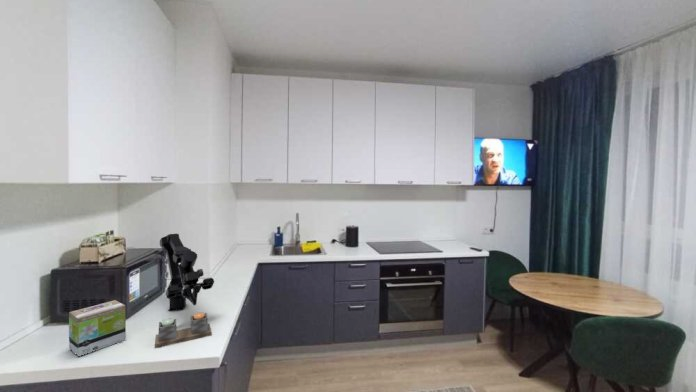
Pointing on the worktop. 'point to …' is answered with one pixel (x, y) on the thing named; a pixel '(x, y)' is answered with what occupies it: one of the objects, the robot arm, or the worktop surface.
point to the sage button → (167, 322)
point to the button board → (182, 332)
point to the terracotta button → (199, 315)
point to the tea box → (97, 327)
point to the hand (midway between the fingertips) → (195, 304)
